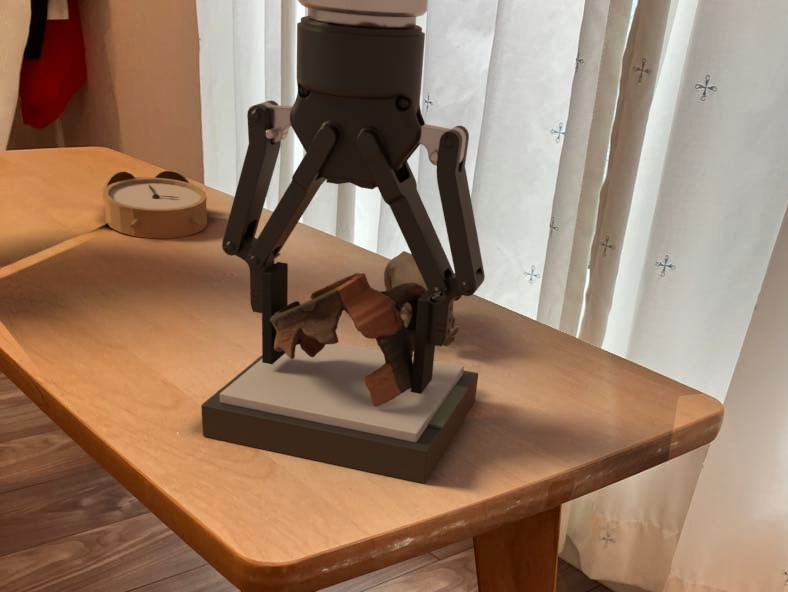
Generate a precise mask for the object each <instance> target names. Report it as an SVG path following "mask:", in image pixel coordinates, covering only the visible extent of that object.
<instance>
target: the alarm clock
mask: <svg viewBox="0 0 788 592" xmlns="http://www.w3.org/2000/svg"><path fill="white" fill-rule="evenodd" d="M101 196H102V199H103V202H104V210H105V222H107V223H106V224H107V225H108V227H110V228H111V229H112V230H115V231H117V232H119V233H121V234H124V235H129V236H132V237H136V238H137V237H138V238H146V239H173V238H183V237H188V236H191V235H195V234H197V233H199V232H201V231H202V230H204V229H205V228H206V226H207V225H208V219H207V216H208V215H207V213H208V212H207V200H208V199H207V198H208V197H207V194H206V191H204V189H203V188H201V187H200V186H198V185H195V184H193V183H191V182H190V181H189V179H187V177H186V176H185V175H184V174H183V173H181V172H180V171H175V170H172V169H171V170H169V169H168V170H167V169H166V170H163V171H161V172H159V173H158V174H157V175H156V176H155V177H151V176H137V177H136V176H134V175H133V174H132V173H130V172H128V171H122V170H121V171H118V170H117V171H114V172H112V173H110V174H109V175H108V176H106V178H105V179H104V182H103V184H102V187H101Z"/></svg>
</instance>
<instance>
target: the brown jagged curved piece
mask: <svg viewBox="0 0 788 592" xmlns="http://www.w3.org/2000/svg"><path fill="white" fill-rule="evenodd" d="M426 291H427V290H426V289H425V288H424V287H423V286H421V285H419V284H417V283H404V284H401V285H398V286H396V287H394V288H392V289H390V290H388V291H386V290H377V289H374V288H372V287H371V286H370V283H369V281H368V278H367V275H366V274H365V273H364V272H362V273H357V272H356V273H354V274H350V275H348V276H345V277H344V278H341V279H339V280H336V281H335V282H333V283H331V284H328V285H326V286H325V287H322V288H320V289H318V290H316V291H313V292H312V293H311V295H310V300H307V301H305V302H304V303H301V302H300V301H299V300H296V301H293V302H291V303H288V305H287V306H286V307H284V308H283V309H281V310H279V311H278V312H276V313H275V314H274V315H273V316H272V317H271V318H270V322H271V323H272V324H273V326H274V328H275V329H276V332H277V334H276V338H275V344H274V350H275V351H279V352H281V351H283V350H284V351H285V353H286V354H287V356H289V357H290V358H291V359H294V358H295V348H296V345H299V344H300V346H301V349H302V350H304V351H305V352H306V354H307V355H309V356H310V357H314V356H315V355H316V354H317V353H319V352H320V351H321V350H322V349H323V348H324V347H325V344H336V343H339V336H338V334H337V329H338V326H339V322H340V318H341V317H342V315H343V312H345V313H346V314H347V315H348V316H349V317H350V319H351V320H352V323H353V325H354V328H355V330H357V331H358V332H359V333H360V334H361V335H362V336H363V337H365V338H367V339H371V340H374V339H375V341H376V344H377V345H378V347H379V348H380V349H379V350H381V351H382V352H383V354H384V358H385V364H384V365H382V366H381V367H380V368H379V369H377V370H376V371H374V372H372V373H371V374H369V375H367V376H365V377H364V382H365V384H366V386H367V388H368V390H369V391H370V395H371V399H372V402H373V405H374V406H380V405H381V404H384V403H387V402H388V401H390V400H392V399H394V398H395V397H397V396H398V395H400V394H401V393H404V392H405V391H406V390H407V389H410V388H411V387H412V386H411V382H412V370H413V360H412V357H414V345H415V333H416V320H417V308H418V300H419V299H420V298H421V296H422V295H423V294H424V293H425V292H426ZM406 302H407V303H409V304H410V305H411V307H412V317H411V320H410V322H409V324H408V326H407V327H405V326H404V324H405V320H404V318H402V316H401V315H402V314H401V313H402V310H403V309H404V307H403V306H404V304H405V303H406Z"/></svg>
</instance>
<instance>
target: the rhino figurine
mask: <svg viewBox="0 0 788 592" xmlns="http://www.w3.org/2000/svg"><path fill="white" fill-rule="evenodd" d="M404 283H417V284H419V285H421V286H423V287H424V288H425V289H426V290H428V289H427V286H426V284H425V282H424V280H423V278H422V275H421V273H420V271H419V269H418V267H417V265H416V262H415V260H414V258H413V256H412V254H411V252H408V251H405V250H404V251H402V252H401V253H399V254H398V255H396V256H394V257H393V258H391V259H390V260H389V261H388V262H387V264H386V266H385V268H384V272H383V284H384V287H385V291H388V290H390V289H392V288H394V287H396V286H398V285H401V284H404ZM461 297H462V296H457V297H455V298H454V302H457V301H459V300H460V299H461ZM403 309H404V312H405V316H406V320H405V322H404V326H405V327H407V326H408V324H409V322H410V320H411V317H412V307H411V305H410V304H409V303H407V302H406V303H405V304H404V306H403ZM455 322H456V319H455V316H454V314H453V315H452V324H451V333H450V335H449V337H448V339H447V340H446V342H445V343H444V344H443V346H444V347H449V346H451V345H452V343H453V342H454V341H455V339H456V338H455V336H456V335H457V334H458V333H459V329H460V327H459V325H456V326H455Z"/></svg>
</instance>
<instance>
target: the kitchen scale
mask: <svg viewBox="0 0 788 592" xmlns="http://www.w3.org/2000/svg"><path fill="white" fill-rule="evenodd" d="M413 357H414V356H413ZM413 357H412V360H413ZM384 364H385V358H384V354H383V352H382V351H381V349H375V348H369V347H364V346H358V345H353V344H349V343H348V344H347V343H344V342H343V343H342V342H338V343H336V344H325V347H324V348H323V349H322V350H321V351H320V352H319V353H317V354H316V355H315V356H314V357H310V356H309V355H307V354H306V352H305V351H304V350H302V349H301V346H300V344H299V345H296V348H295V358H294V359H291V358H290V357H289V356H287V354H286V353H285V354H284V355H283V356H281V357H280V358H279V359H278V360H277V361H276V362H274V363H273V364H267V363H262V355H260V356H259V357H258V358H257V359H255V360H254V361H253V362H251V364H249V365H248V366H246V368H244V369H243V370H242V371H241V372H240V373H239V374H237V375H236V376H235V377H233V378H232V379H231V380H230V381H229V382H227V383H226V384H225V385H224V386H223V387H221V388H220V389H219V390H218V391H216V393H214V394H213V395H212V396H210V397H209V398H208V399H207V400H206V401H204V402H203V403H201V405H200V406H201V426H202V436H203V437H206V438H210V439H215V440H219V441H224V442H228V443H233V444H238V445H243V446H247V447H250V448H251V447H252V448H256V449H262V450H266V451H271V452H275V453H280V454H285V455H289V456H294V457H299V458H304V459H308V460H313V461H318V462H322V463H327V464H332V465H336V466H341V467H346V468H350V469H355V470H360V471H365V472H368V473H373V474H378V475H383V476H386V477H387V476H388V477H393V478H395V479H396V478H397V479H402V480H406V481H411V482H414V483H415V482H416V483H420V484H425V483H426V481H427V480H428V478H430V477H429V476H430V475H431V473H432V472H433V470H434V468H435V467H436V466H437V464H438V462H439V461H440V459H441V457H442V456H443V455H444V452H445V450H446V449H447V447H448V446H449V444H450V443H451V441H452V440H453V438H454V436H455V434H456V433H457V432H458V430H459V428H460V427H461V425H462V423H463V422H464V420H465V418H466V416H467V415H468V413H469V412H470V411H471V408H472V407H473V406H474V403H475V402H476V397H477V389H478V381H479V373H478V372H475V371H469V370H465V365H461V364H456V363H450V362H446V361H440V360H435V359H434V362H433V373H432V380H431V381H430V383H429V384H428V385H427V387H426V388H425V389H424V391H423V392H422V393H421V394H419V393H414V392H411V388H410V389H407V390H406V391H405V392H404V393H401V394H400V395H398V396H397V397H395V398H394V399H392V400H390V401H388V402H387V403H384V404H381V405H380V406H374V405H373V402H372V399H371V395H370V391H369V390H368V388H367V386H366V384H365V382H364V377H365V376H367V375H369V374H371V373H372V372H374V371H376V370H377V369H379V368H380V367H381V366H382V365H384Z"/></svg>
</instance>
